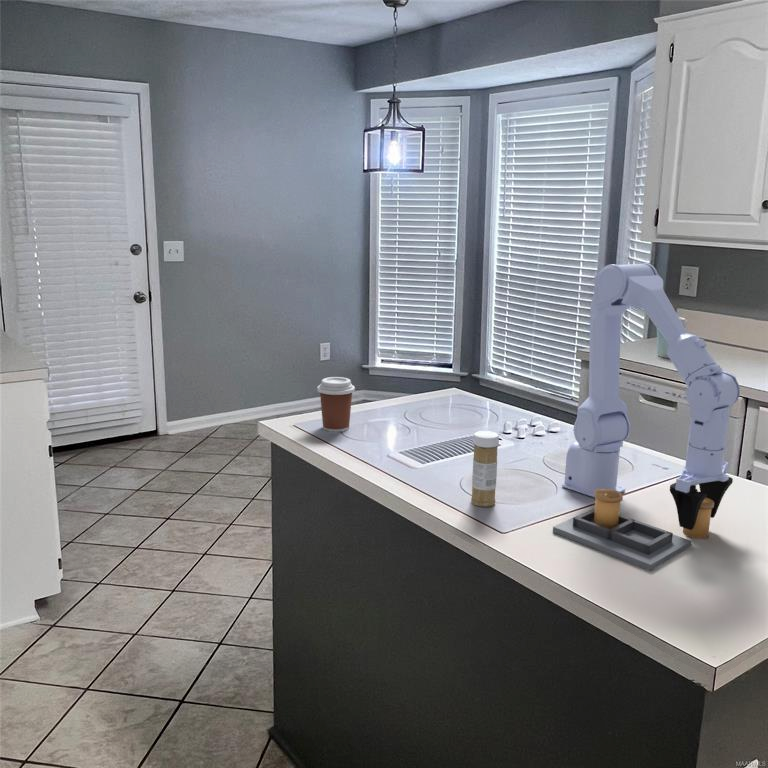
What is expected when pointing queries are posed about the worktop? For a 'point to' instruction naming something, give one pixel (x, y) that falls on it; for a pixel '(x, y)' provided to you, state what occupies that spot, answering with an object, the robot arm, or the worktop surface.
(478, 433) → the sprinkles bottle
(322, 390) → the coffee cup
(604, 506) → the jaw peg
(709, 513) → the jaw peg
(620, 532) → the housing
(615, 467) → the robot arm
